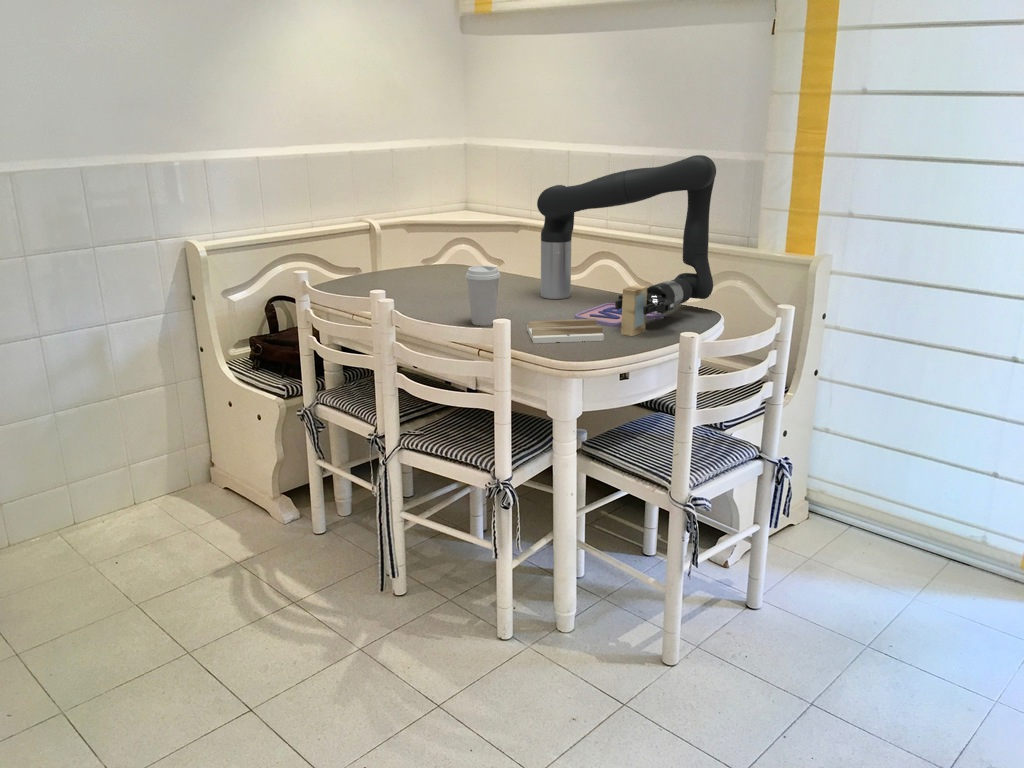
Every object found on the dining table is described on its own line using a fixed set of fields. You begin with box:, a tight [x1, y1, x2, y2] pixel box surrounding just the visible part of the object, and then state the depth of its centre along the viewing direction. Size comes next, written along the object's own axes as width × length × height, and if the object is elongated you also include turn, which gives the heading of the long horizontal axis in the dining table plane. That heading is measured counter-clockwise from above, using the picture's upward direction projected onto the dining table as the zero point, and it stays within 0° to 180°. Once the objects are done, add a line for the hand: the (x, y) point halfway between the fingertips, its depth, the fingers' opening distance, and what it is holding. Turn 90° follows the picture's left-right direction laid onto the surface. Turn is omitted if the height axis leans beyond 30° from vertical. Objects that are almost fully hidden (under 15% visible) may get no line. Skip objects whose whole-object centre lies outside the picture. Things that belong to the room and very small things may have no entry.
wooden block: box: [620, 284, 648, 337], centre depth 214 cm, size 6×4×12 cm, turn 139°
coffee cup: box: [464, 265, 502, 327], centre depth 224 cm, size 10×10×15 cm
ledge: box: [526, 318, 605, 344], centre depth 214 cm, size 12×18×3 cm, turn 97°
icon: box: [574, 302, 665, 328], centre depth 231 cm, size 19×2×20 cm
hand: (630, 308), depth 213 cm, fingers open, 8 cm apart
